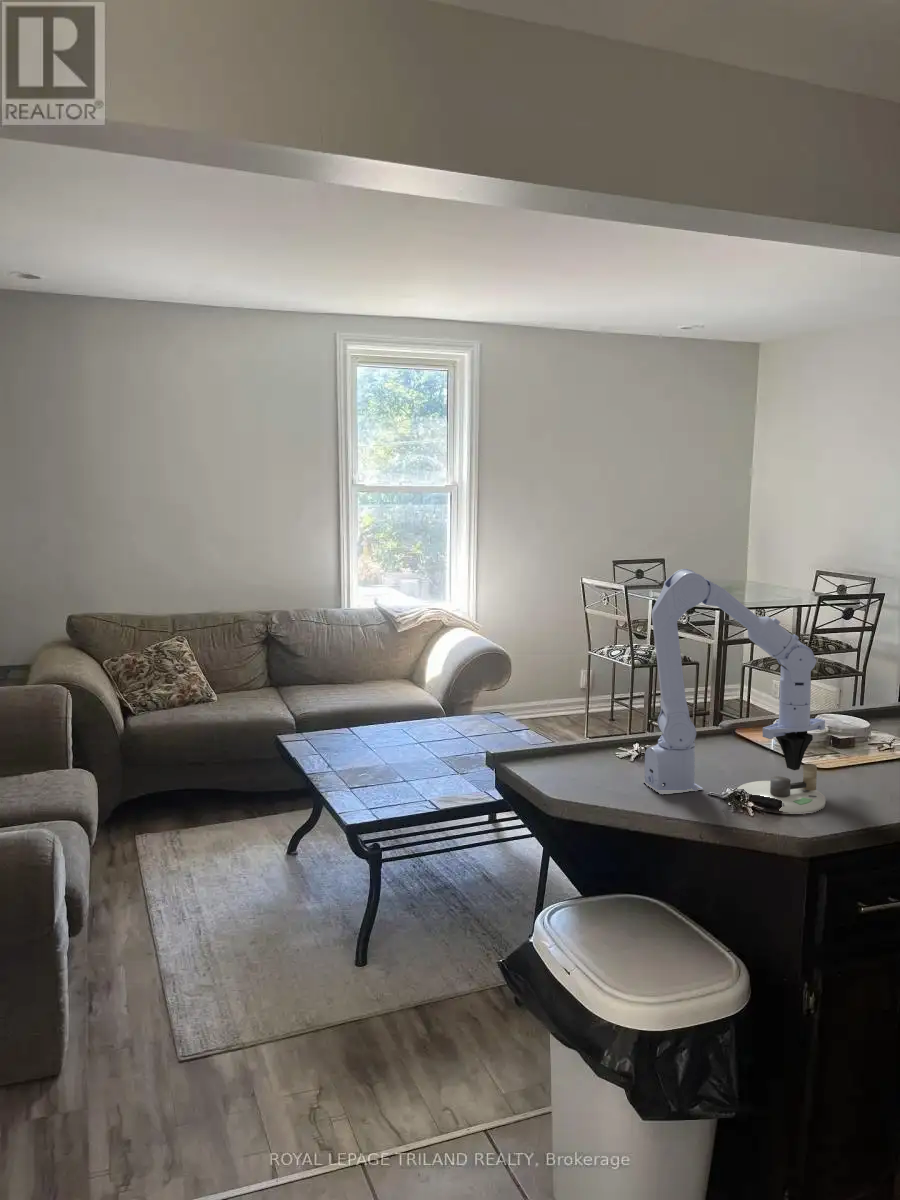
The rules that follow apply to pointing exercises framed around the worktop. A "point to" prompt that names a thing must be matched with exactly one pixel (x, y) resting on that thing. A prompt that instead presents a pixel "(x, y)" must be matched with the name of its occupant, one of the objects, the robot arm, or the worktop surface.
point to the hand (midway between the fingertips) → (793, 768)
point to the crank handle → (783, 784)
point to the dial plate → (789, 797)
